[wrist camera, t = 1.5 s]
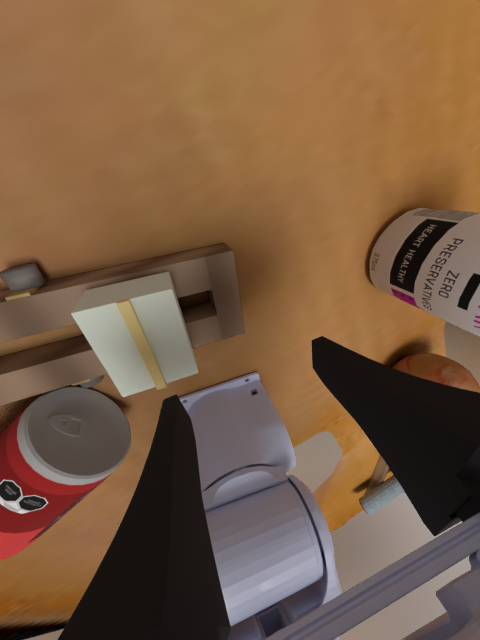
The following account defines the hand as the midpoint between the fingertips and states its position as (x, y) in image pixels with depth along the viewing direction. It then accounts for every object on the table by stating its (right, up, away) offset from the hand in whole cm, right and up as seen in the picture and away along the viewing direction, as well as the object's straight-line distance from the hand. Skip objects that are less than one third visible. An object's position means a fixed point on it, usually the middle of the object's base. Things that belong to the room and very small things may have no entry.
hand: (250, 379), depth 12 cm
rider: (-8, +4, +7) cm, 11 cm away
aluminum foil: (+38, -35, +45) cm, 69 cm away
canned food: (-20, -13, +7) cm, 25 cm away
